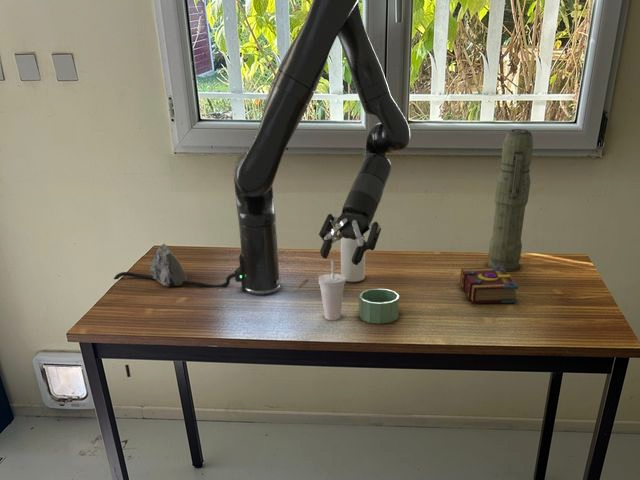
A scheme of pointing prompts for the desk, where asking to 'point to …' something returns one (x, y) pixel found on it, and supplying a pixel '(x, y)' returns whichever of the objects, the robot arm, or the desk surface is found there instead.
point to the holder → (378, 306)
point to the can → (347, 267)
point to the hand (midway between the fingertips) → (338, 260)
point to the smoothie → (332, 293)
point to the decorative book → (488, 285)
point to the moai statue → (511, 200)
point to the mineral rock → (167, 268)
